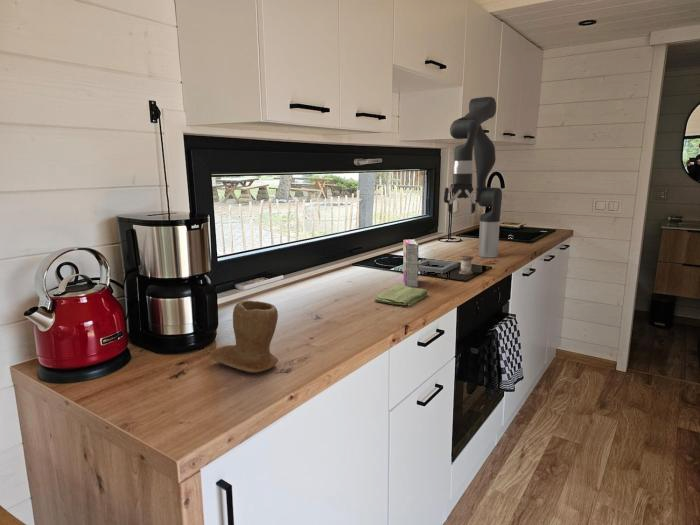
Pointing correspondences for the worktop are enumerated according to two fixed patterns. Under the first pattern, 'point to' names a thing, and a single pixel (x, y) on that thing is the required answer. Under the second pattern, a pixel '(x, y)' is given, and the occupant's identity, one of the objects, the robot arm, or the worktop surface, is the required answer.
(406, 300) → the washcloth
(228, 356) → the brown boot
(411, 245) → the candy bar box
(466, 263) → the cord spool
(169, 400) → the worktop surface
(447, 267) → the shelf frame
